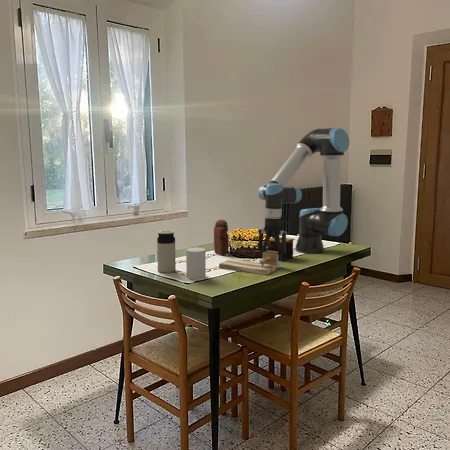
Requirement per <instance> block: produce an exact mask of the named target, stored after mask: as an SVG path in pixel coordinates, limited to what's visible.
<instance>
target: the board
mask: <svg viewBox="0 0 450 450" xmlns="http://www.w3.org/2000/svg"><path fill="white" fill-rule="evenodd" d="M218 269H225V270H230V271H237V272H245V273H251V274H258V275H265V276H267V274H268V275H270V274H271V273H273V272H274V271H276V270H277V269H278V268H277V265H272V264H264V266H263V267H262V264H260V262H257V261H256V262H255V261H248V260H241V259H233V258H230V259H227V260H224V261H222V262H220V263H219V264H218Z"/></svg>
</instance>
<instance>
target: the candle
mask: <svg viewBox="0 0 450 450" xmlns="http://www.w3.org/2000/svg"><path fill="white" fill-rule="evenodd" d="M279 238H280V243H281V248H282V236H281V237H280V236H279ZM266 251H275V252H278V250H277V246H276V242H275V240H274V238H272V237H270V239H269V242H268V245H267V248H266ZM293 257H294V238H290V237H286V253H283V254H282V260H281V261H280V262H286V261H289V260H290V259H291V260H292V259H293Z"/></svg>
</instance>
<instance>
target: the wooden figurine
mask: <svg viewBox="0 0 450 450" xmlns="http://www.w3.org/2000/svg"><path fill="white" fill-rule="evenodd" d="M228 231H229V226H228V222H227V220H225V219H218V220H217V221H216V222H215V224H214V227H213V247H214V253H215V254H217V255H219V256H221V257H224V256H228V255H229V253H230V251H229V250H230V247H229V246H230V243H229V242H230V241H229V240H230V239H229V233H228Z"/></svg>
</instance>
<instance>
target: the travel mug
mask: <svg viewBox="0 0 450 450" xmlns="http://www.w3.org/2000/svg"><path fill="white" fill-rule="evenodd" d="M174 234H175V230H172V229H163V230H158V231H157V235H158V236H157V239H156V248H157V249H156V250H157V253H156V254H157V272H159V273H162V274H163V273H164V274H166V273H173V272H175V271H176V262H177V261H176V237H175V235H174Z"/></svg>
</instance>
